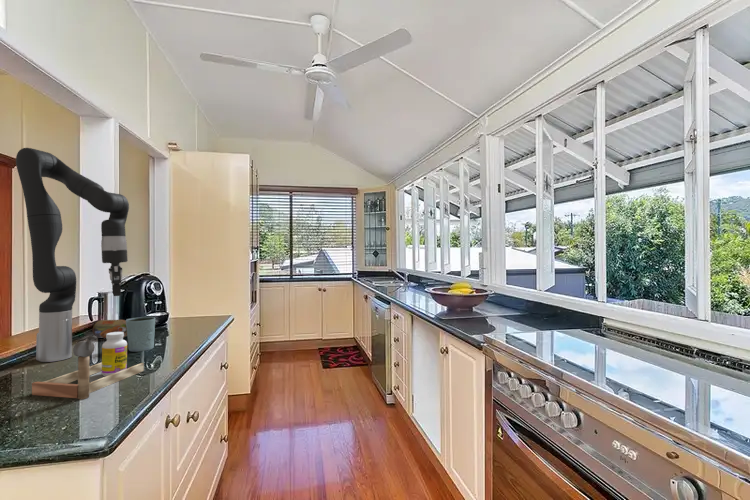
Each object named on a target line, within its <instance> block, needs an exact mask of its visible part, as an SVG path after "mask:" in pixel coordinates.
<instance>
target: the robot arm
mask: <svg viewBox="0 0 750 500" xmlns="http://www.w3.org/2000/svg"><path fill="white" fill-rule="evenodd" d="M15 165H16V170H17V173H18V177H19V180H20V185H21V188H22V192H23V198H24V203H25V210H26V217H27V224H28V225H27V226H28V230H29V237H30V244H31V254H32V255H31V256H32V281H33V285H34V288H36V290H38V292H41V293H42V294H43V293H44V294H49V296H48V297H47V298H46V299H45V300H44V301H42V302H41V303H40V304H39V306H38V311H39V312H38V332H37V333H36V337H35V338H36V339H35V340H36V343H35V344H36V345H35V347H36V349H35V350H36V351H35V353H36V354H35V355H36V356H35V358H36V361H38V362H40V363H49V362H58V361H64V360H68V359H69V358H72V356H73V354H72V353H73V306H74V303H75V301H76V294H77V275H76V272H75V271H74V270H73V268H71V267H70V266H66V265H58V266H57V262H56V254H55V253H56V248H57V245H58V242H59V241H60V238H61V236H62V233H63V223H62V222H63V220H62V214H61V211H60V209H59V207H58V205H57V204H56V203H55V201H54V200H53V198H52V197H51V196H50V195H49V193H48V191H47V189H46V187H45V185H44V181H43V178H49V179H52V180H54V181H57V182H60V183H61V184H63V185H65V187H66V189H68V190H69V191H70V192H71V193H72V194H74V195H76V196H78V197H79V198H81V199H83V200H85V201H87V202H88V203H89V204H90V206H92V207H93V208H95V209H96V210H99V212H103V213H109V217H108V219H104V220H103V221H102V222H101V224H100V225H101V226H100V228H101V231H100V232H101V241H100V243H101V245H100V247H101V249H100V250H101V262H102V263H103V264H110V267H109V268H108V274H109V280H110V281H111V282H110V283H111V287H112V288H111V289H112V291H111V292H112V295H113V296H114V297H120V296H121V294H122V291H121V289H122V288H121V286H122V280H123V267H121V265H120V264H121V263H127V262H128V243H127V237H126V223H127V218H128V215H129V209H130V204H129V203H130V202H129V200H128V198H127V196H125V195H123V194H121V193H114V192H109V191H106V190H105V189H104V188H103V186H102V185H101V184H99V183H98V182H95V181H93V180H92V179H90V178H88V177H87V176H84V175H82V174H80V173H79V172H77V171H76V170H74V169H73V168H71V167H70V166H68V165H67V164H66V163H64V161H62V160H61V159H59V157H57V156H56V155H54V154H53V153H50V152H47V151H43V150H40V149H36V148H31V147H23V148H21V149H19V150H18V151H17V153H16V157H15Z"/></svg>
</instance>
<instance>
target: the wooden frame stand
mask: <svg viewBox="0 0 750 500" xmlns="http://www.w3.org/2000/svg"><path fill="white" fill-rule="evenodd" d="M97 339H98V338H97V337H96V336H94V335H87V336H86V340H80V341H78V342H76V343H75V344H74V346H73V347H72V353H73V355H74V356H76V357H77V370H74V371H72V372H68V373H65V374H63V375H60V376H57V377H54V378H51V379H48V380H45V381H34V382H32V383H31V395H32V396H42V397H56V398H67V399H69V398H70V399H77V400H86V399H88V398H89V397H90V394H91V393H93V392H96V391H98V390H100V389H104V388H105V387H107V386H110V385H113V384H115V383H117V382H121V381H123V380H125V379H127V378H130V377H132V376H134V375H138V374H140V373H142V372H144V370H145V369H144V367H145V366H144V362H141V363H138V364H135V365H132V366H130V367H128V368H127V369H124V370H121V371H119V372H116V373H114V374H111V375H108V376H103V377H100V378H99V379H95V380H94V381H90V376H92V375H94V374H95V375H96V374H98V373H102V361H101V362H99V363H96V364H93V365H90V359H91V358H90V356H91V355H93V353H94V351H95V344H94V342H93V341H96V340H97ZM76 381H77V384H76V383H73V382H76Z"/></svg>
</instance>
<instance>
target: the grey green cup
mask: <svg viewBox="0 0 750 500" xmlns="http://www.w3.org/2000/svg"><path fill="white" fill-rule="evenodd" d="M125 321H126V327H127V336H126V337H127V350H128V352H137V353H138V352H146V351H149V350H152V349H154V347H155V333H156V331H155V327H156V317H155V316H140V317H132V318H127V319H126V320H125Z"/></svg>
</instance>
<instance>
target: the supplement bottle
mask: <svg viewBox="0 0 750 500" xmlns="http://www.w3.org/2000/svg"><path fill="white" fill-rule="evenodd" d="M123 336H124V332H111V333H107V334H106V339H105V340H106V341H104V342H103V343H102V345H101V362H102V371H101V375H102V376H103V377H106V376H108V375H111V374H114V373H116V372H119V371H121V370H124V369H127V367H128V341H127V340H125V339H124V337H123Z"/></svg>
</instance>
